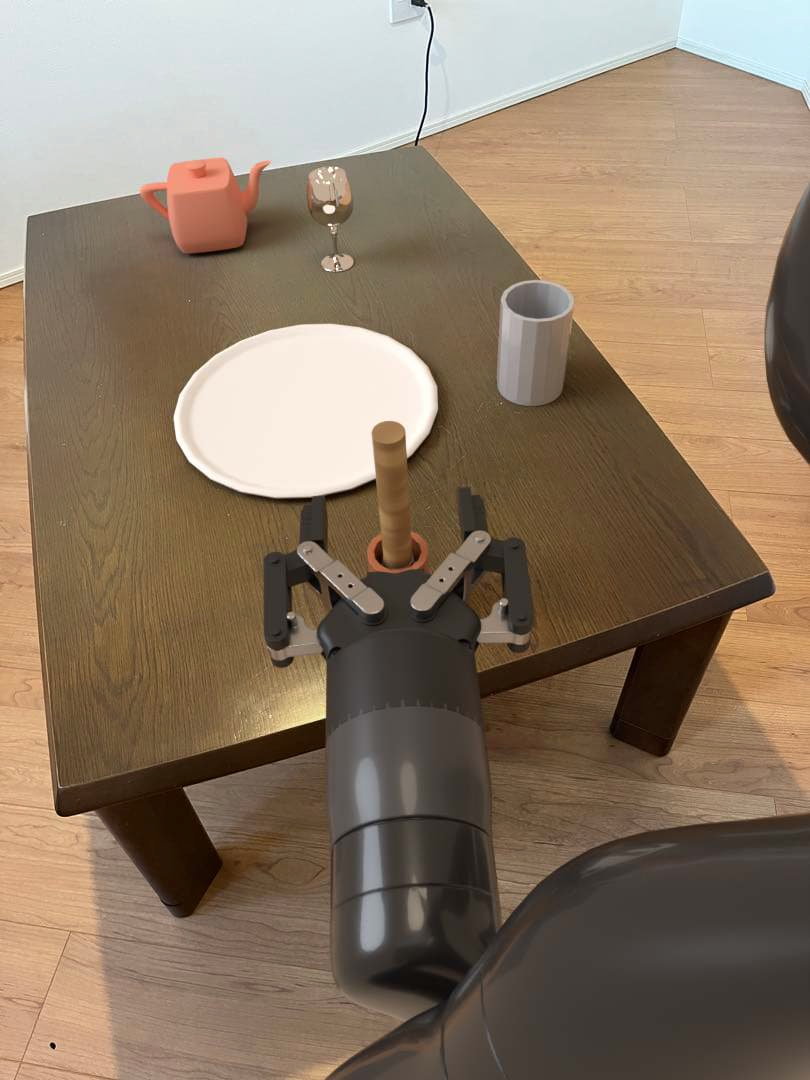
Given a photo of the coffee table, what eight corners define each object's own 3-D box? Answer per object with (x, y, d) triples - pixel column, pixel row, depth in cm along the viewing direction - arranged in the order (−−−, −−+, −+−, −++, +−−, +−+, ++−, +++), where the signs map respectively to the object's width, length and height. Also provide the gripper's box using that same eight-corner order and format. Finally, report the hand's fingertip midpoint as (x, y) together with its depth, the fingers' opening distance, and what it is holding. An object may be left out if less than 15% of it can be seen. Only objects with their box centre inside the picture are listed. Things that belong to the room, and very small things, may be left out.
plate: (493, 419, 90) (493, 410, 89) (262, 550, 79) (260, 541, 78) (341, 302, 106) (340, 293, 105) (131, 398, 95) (127, 389, 94)
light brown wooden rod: (422, 592, 75) (414, 421, 59) (412, 618, 73) (402, 449, 57) (390, 585, 75) (374, 414, 60) (380, 611, 73) (361, 442, 58)
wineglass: (308, 270, 111) (296, 182, 102) (327, 248, 114) (316, 161, 105) (347, 277, 109) (338, 189, 100) (365, 255, 113) (358, 167, 103)
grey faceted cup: (568, 369, 95) (579, 284, 87) (556, 411, 90) (567, 325, 82) (504, 360, 97) (509, 276, 88) (490, 400, 92) (494, 315, 84)
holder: (436, 588, 75) (434, 534, 70) (420, 634, 72) (417, 581, 66) (383, 577, 76) (378, 523, 71) (366, 621, 73) (358, 568, 68)
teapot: (155, 223, 121) (135, 151, 113) (279, 207, 122) (267, 135, 114) (153, 265, 113) (131, 191, 105) (285, 248, 115) (272, 174, 107)
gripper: (567, 701, 36) (515, 446, 47) (238, 723, 36) (261, 462, 46) (550, 777, 42) (507, 534, 52) (266, 796, 42) (281, 548, 52)
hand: (391, 500), depth 49 cm, fingers open, 8 cm apart
